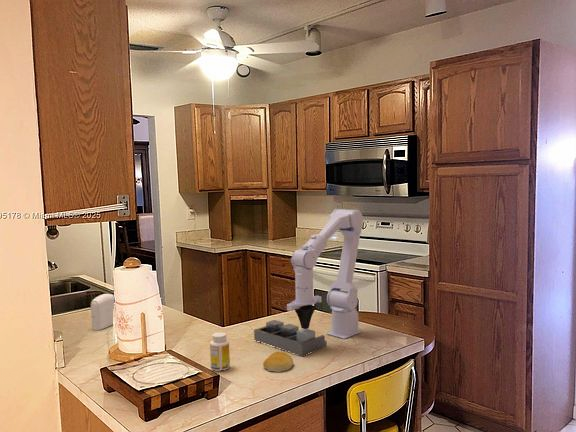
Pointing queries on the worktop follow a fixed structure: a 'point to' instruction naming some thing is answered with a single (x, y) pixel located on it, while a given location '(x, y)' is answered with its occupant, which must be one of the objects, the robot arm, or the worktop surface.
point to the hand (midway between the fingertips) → (305, 328)
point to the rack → (287, 338)
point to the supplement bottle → (219, 352)
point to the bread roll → (278, 362)
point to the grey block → (305, 335)
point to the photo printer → (102, 311)
